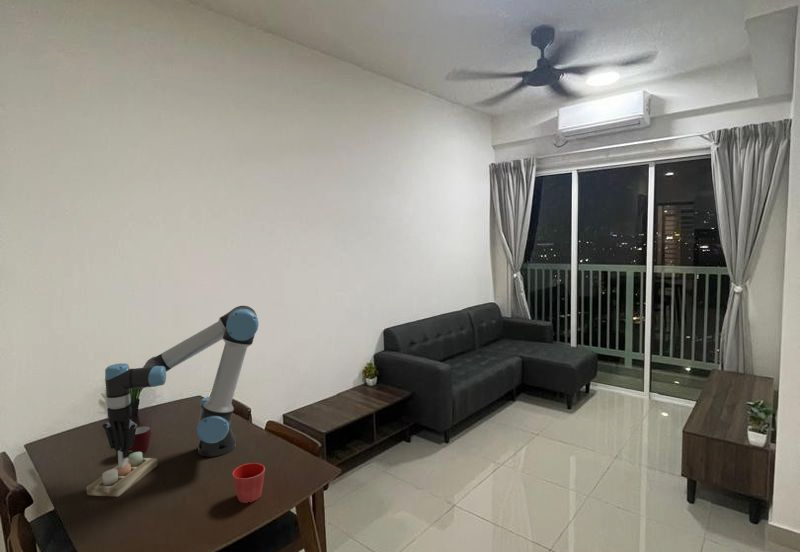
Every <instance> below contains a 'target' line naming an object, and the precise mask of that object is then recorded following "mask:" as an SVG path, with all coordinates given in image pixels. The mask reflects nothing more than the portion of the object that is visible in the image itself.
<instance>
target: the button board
mask: <svg viewBox="0 0 800 552" xmlns="http://www.w3.org/2000/svg"><path fill="white" fill-rule="evenodd" d="M127 461H128V463H129V457H127ZM117 466H119V464H117V465H116V466H115V467H113V468H112V469H116V467H117ZM157 466H158V458H153V457H152V458H151V457H143V462H142V463H141V464H139V465H136V466H131V472H130V473H129V474H127V475H126V476H118V481H117V482H115V483H113V484H111V485H104V484H103V476H101V477H99V478H98V479H96V480H94V481H93V482H91V483H90V484H89V485H87V486H86V495H87V496H99V497H116V498H118V497H120V496H121V495H122V494H124V493H125V492H126V491H127V490H129V489H130V488H132V486H134V485H135V484H136V483H138V482H139V481H140V480H141V479H143V478H144V477H145V476H146V475H148V474H149V473H150V472H151V471H153V470H154V469H155V468H157Z"/></svg>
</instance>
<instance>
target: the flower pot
mask: <svg viewBox="0 0 800 552" xmlns="http://www.w3.org/2000/svg"><path fill="white" fill-rule="evenodd" d="M265 472H266V467H265V465H263V464H262V463H258V462H250V463H245V464H242V465H239V466H238V467H236V468H235V469H233V471H232V473H231V474H232V475H231V476H232V478H233V479H232V480H233V484H234V489H235V492H236V497H237V500H238V501H239V502H240V503H243V504H249V503H248V502H250V503H253V501H254V502H256V501H257V500H259V499H260V498H261V497H262V492H263V486H264V482H265V481H264V480H265ZM259 497H260V498H259ZM258 498H259V499H258ZM255 500H256V501H255Z"/></svg>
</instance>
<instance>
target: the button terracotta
mask: <svg viewBox="0 0 800 552" xmlns="http://www.w3.org/2000/svg"><path fill="white" fill-rule="evenodd" d="M116 466H117V467H116ZM116 466H115V467H116V469H117V470H118V476H126V475H127V474H129V473H130V472H131V464H130V463H128V464H127V465H126V466H124V467H123V468H119V466H118V465H116Z"/></svg>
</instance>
